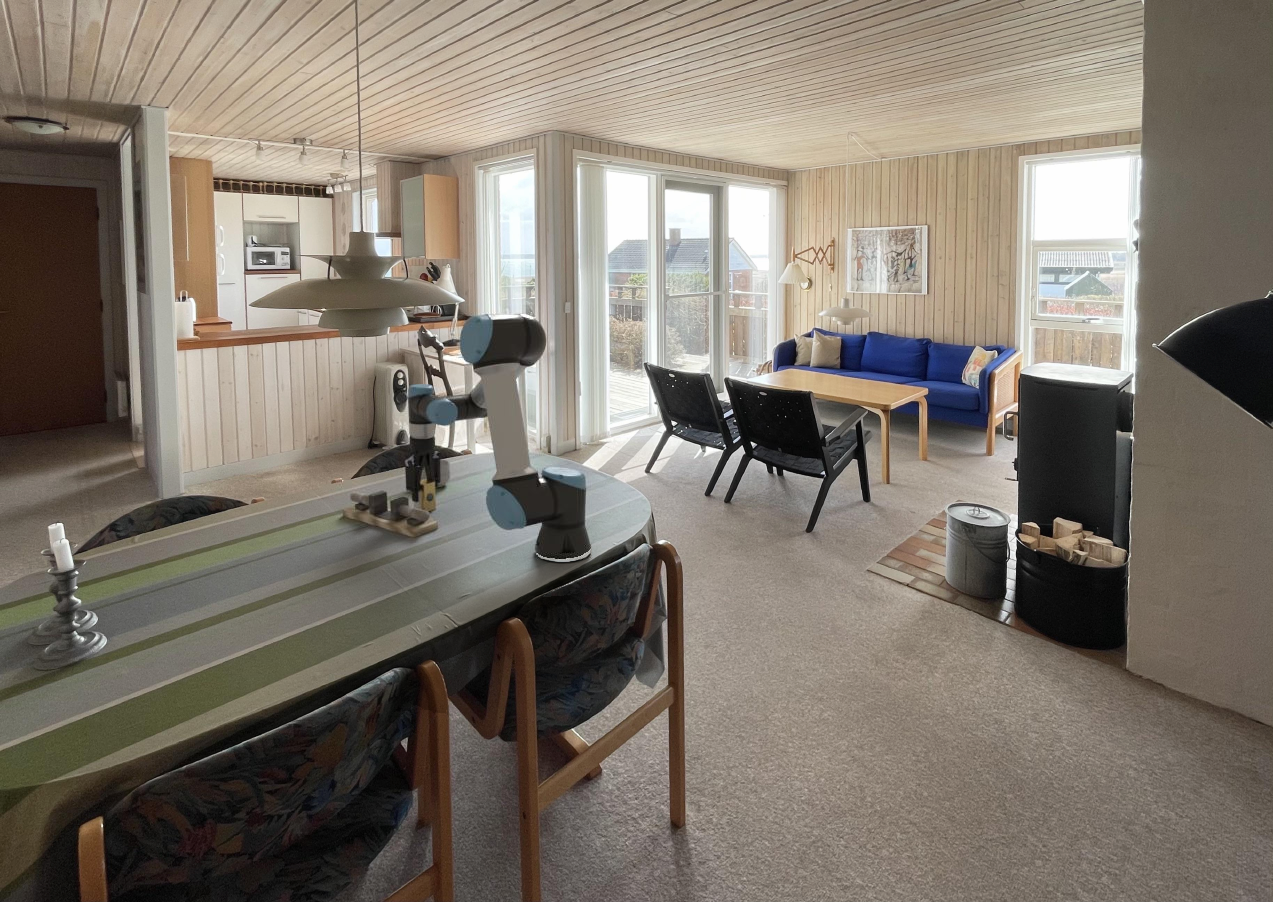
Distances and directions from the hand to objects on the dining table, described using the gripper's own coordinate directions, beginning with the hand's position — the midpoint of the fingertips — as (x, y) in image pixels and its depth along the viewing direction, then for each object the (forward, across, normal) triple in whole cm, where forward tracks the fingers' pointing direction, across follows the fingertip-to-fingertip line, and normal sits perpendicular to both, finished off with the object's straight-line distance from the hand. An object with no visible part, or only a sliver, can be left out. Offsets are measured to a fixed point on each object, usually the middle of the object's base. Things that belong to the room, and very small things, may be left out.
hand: (424, 508), depth 233 cm
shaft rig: (0, +14, 0) cm, 14 cm away
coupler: (0, 0, 0) cm, 0 cm away
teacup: (+1, -21, -17) cm, 27 cm away
